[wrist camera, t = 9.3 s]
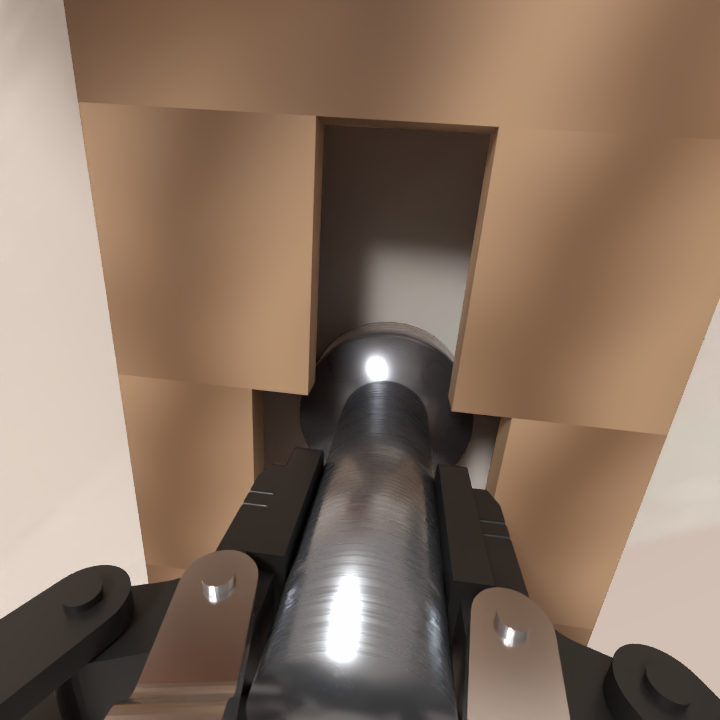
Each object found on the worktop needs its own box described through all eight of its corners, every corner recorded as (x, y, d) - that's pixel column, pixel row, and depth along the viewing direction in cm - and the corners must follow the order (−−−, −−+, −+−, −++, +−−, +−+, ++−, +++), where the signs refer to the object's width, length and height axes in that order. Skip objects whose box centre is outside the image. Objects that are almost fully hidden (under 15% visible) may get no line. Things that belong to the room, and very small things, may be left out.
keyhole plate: (715, 2, 11) (872, -105, 7) (546, 562, 18) (583, 653, 14) (155, -18, 12) (46, -118, 9) (199, 514, 19) (149, 587, 15)
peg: (476, 329, 15) (640, 604, 4) (453, 469, 17) (525, 876, 6) (313, 315, 15) (116, 531, 5) (310, 452, 17) (168, 807, 7)
